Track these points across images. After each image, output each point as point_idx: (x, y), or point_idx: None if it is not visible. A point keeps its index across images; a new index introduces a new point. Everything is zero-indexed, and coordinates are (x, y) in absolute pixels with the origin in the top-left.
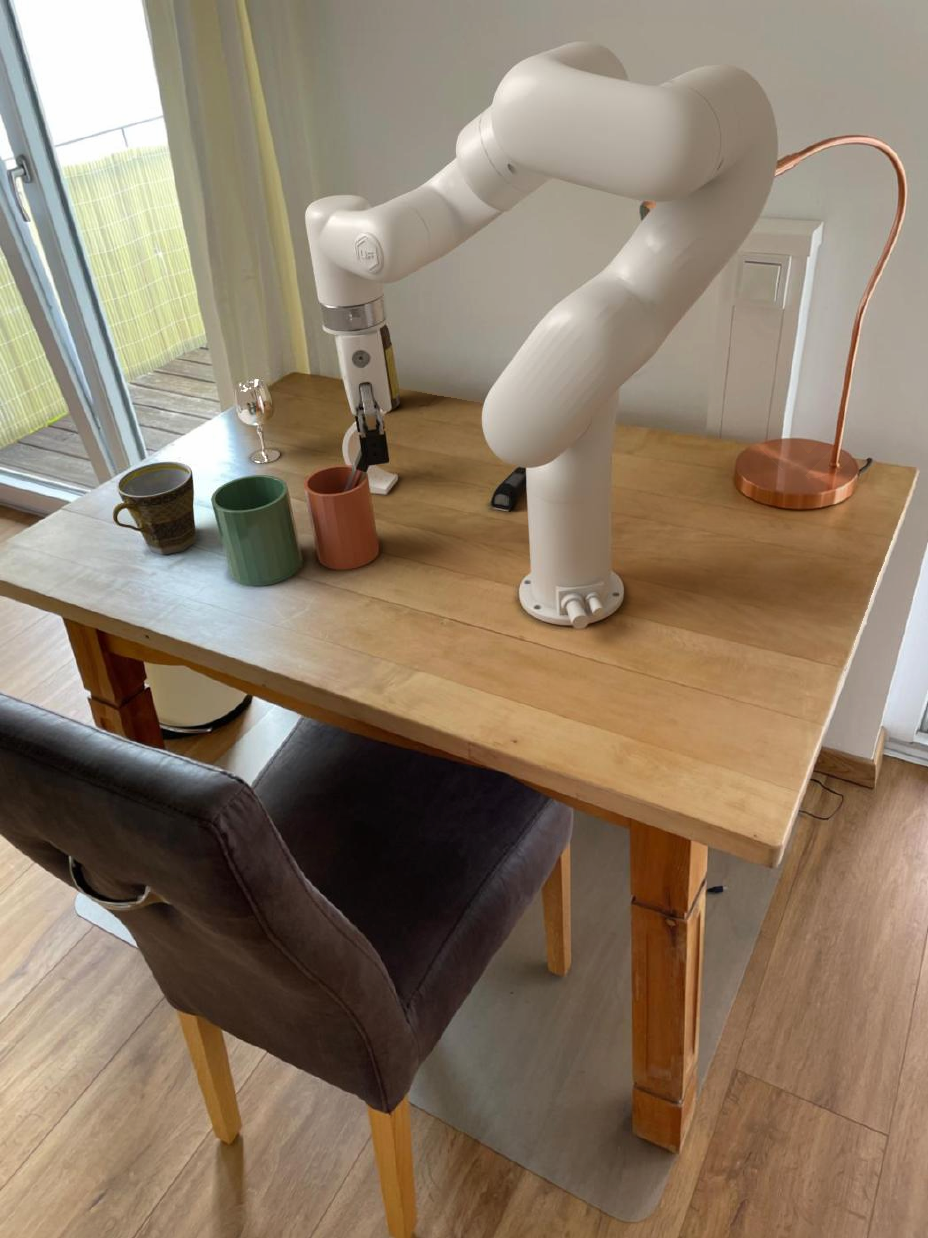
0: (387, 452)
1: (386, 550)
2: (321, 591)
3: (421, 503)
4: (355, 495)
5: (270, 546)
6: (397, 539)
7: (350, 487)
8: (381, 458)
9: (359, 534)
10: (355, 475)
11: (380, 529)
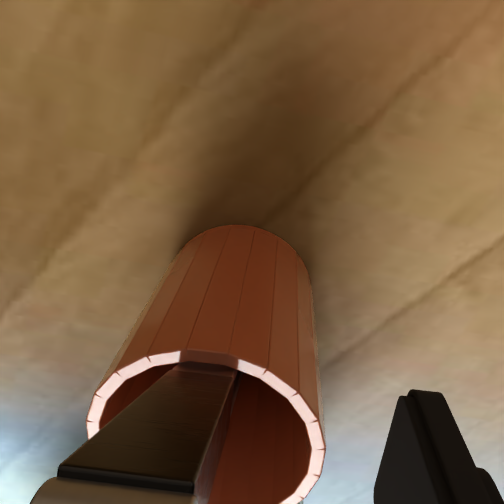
0: (461, 445)
1: (260, 209)
2: (369, 363)
3: (37, 64)
4: (314, 396)
5: (301, 501)
6: (216, 172)
7: (235, 394)
8: (485, 471)
9: (311, 315)
10: (231, 409)
11: (153, 203)
